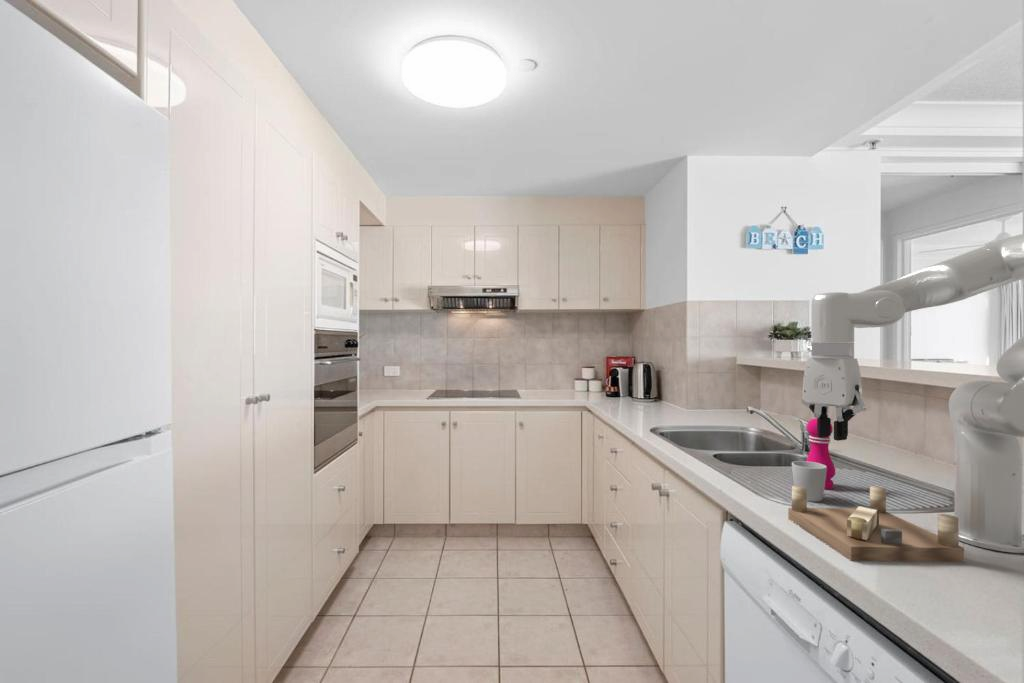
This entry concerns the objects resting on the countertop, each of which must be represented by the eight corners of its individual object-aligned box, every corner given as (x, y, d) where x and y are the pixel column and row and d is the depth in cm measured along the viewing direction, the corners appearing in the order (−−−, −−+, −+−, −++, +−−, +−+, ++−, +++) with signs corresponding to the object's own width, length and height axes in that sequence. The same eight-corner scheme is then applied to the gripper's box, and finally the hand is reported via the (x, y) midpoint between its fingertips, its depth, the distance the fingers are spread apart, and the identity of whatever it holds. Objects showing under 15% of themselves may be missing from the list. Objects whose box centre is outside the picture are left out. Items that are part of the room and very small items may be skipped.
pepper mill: (823, 481, 134) (823, 410, 134) (841, 489, 126) (842, 414, 126) (798, 482, 133) (798, 411, 133) (815, 490, 126) (815, 415, 126)
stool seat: (851, 560, 85) (851, 519, 85) (788, 519, 105) (788, 485, 105) (963, 561, 85) (964, 520, 85) (879, 519, 105) (879, 486, 105)
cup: (789, 499, 119) (789, 465, 119) (794, 489, 127) (794, 457, 127) (825, 505, 114) (825, 470, 114) (828, 495, 122) (828, 461, 122)
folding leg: (866, 541, 87) (866, 523, 87) (846, 536, 90) (846, 518, 90) (878, 523, 96) (878, 507, 96) (859, 519, 98) (859, 503, 98)
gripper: (784, 350, 107) (784, 432, 107) (860, 352, 91) (860, 447, 91) (808, 350, 109) (808, 430, 109) (885, 352, 94) (885, 444, 94)
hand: (832, 437), depth 100 cm, fingers open, 2 cm apart
